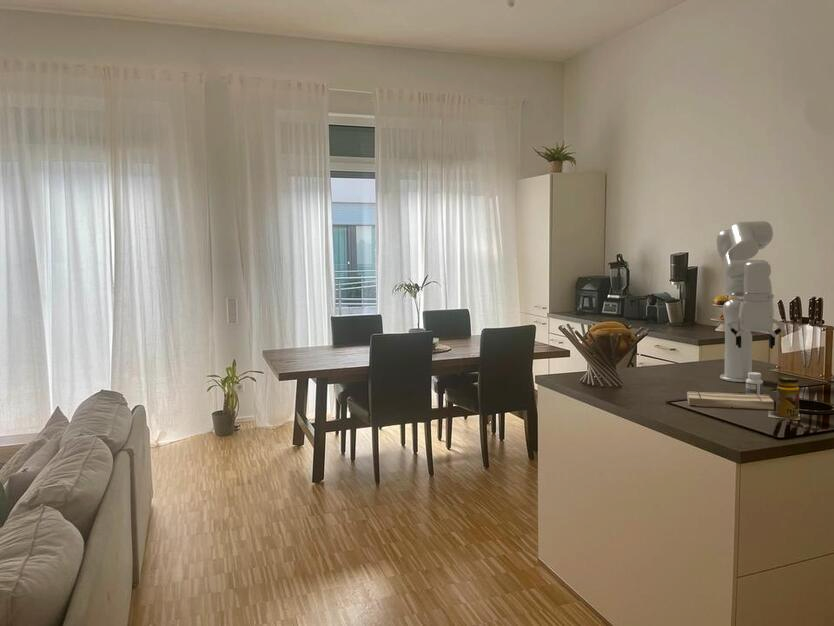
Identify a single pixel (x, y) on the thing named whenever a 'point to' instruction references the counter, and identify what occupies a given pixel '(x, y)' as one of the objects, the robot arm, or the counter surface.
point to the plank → (730, 400)
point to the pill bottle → (754, 384)
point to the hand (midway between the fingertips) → (755, 347)
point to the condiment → (787, 399)
